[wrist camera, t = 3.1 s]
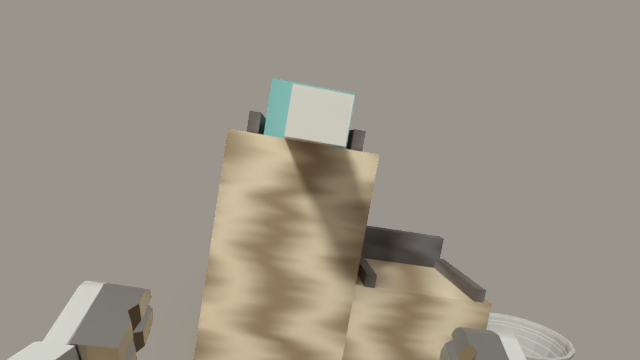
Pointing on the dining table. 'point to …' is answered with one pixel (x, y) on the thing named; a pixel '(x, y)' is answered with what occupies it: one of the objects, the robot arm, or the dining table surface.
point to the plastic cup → (533, 338)
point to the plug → (309, 113)
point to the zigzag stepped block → (321, 262)
